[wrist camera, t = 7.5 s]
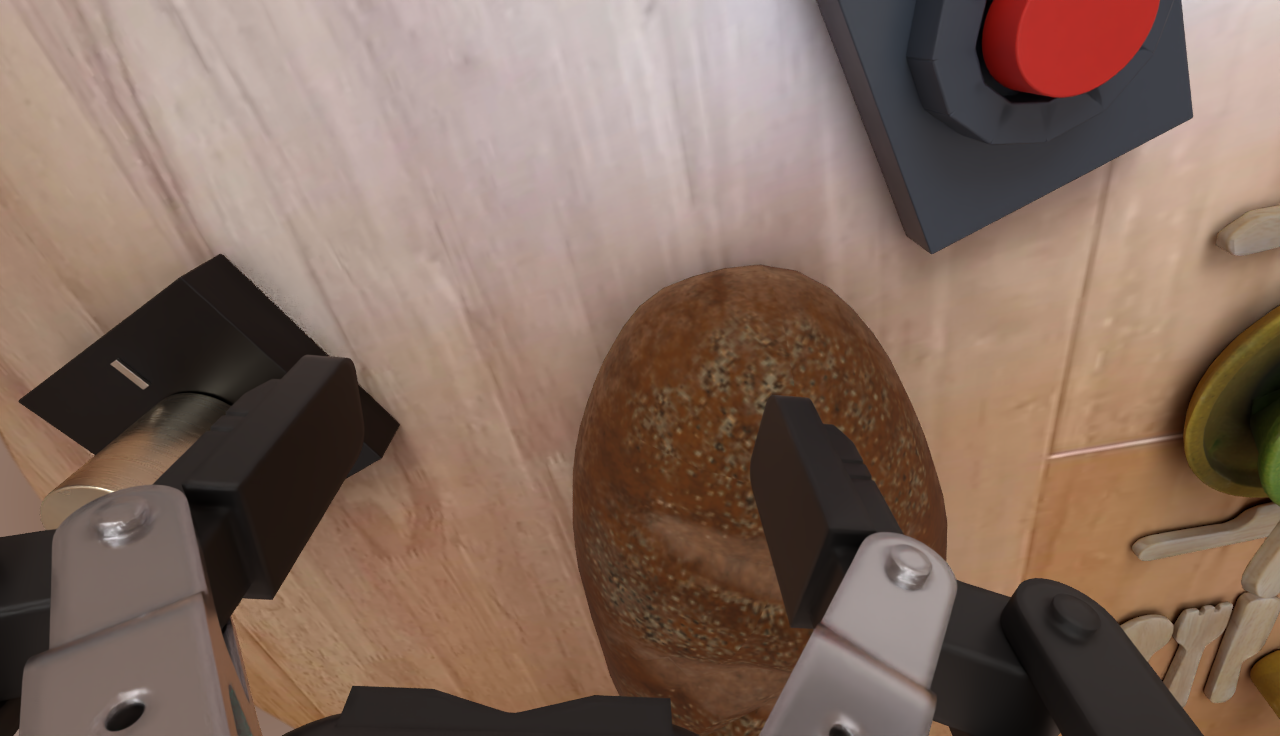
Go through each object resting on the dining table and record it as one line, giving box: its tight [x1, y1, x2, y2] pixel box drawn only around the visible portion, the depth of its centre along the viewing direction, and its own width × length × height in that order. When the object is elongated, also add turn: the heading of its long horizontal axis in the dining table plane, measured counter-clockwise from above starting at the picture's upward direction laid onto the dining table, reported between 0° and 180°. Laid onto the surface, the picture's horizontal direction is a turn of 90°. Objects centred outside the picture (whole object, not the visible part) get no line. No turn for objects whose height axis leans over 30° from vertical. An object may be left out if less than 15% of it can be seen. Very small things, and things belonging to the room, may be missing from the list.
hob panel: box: [19, 254, 400, 478], centre depth 25 cm, size 10×10×3 cm
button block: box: [816, 0, 1193, 254], centre depth 18 cm, size 12×9×4 cm
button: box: [982, 0, 1160, 98], centre depth 16 cm, size 4×4×2 cm
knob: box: [40, 393, 231, 530], centre depth 22 cm, size 4×4×6 cm
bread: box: [573, 265, 947, 736], centre depth 26 cm, size 16×29×11 cm, turn 10°
